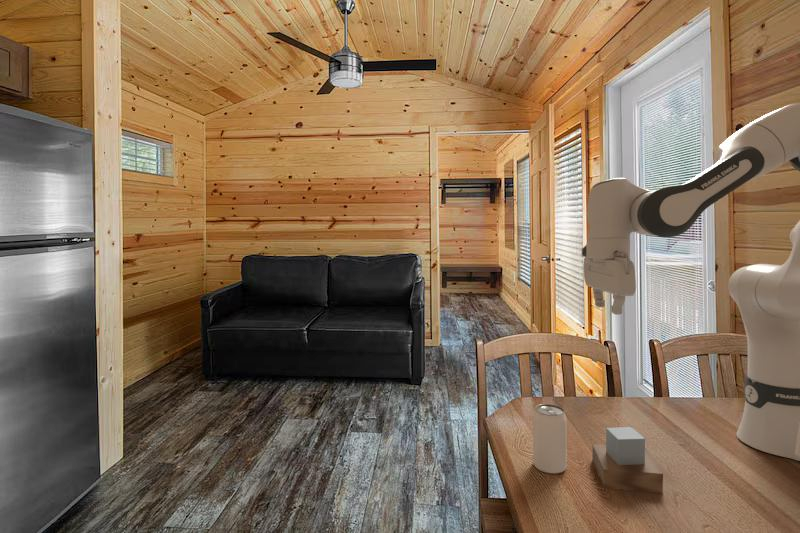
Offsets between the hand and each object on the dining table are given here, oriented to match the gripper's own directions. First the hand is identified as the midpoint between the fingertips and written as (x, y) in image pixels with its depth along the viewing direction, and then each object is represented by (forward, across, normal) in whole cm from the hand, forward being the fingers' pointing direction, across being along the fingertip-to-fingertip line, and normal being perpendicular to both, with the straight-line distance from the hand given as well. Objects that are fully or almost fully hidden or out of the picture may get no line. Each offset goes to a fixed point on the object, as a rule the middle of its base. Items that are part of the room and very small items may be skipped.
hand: (607, 310), depth 104 cm
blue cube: (+26, -19, +4) cm, 32 cm away
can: (+29, -15, +18) cm, 38 cm away
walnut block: (+30, -19, +4) cm, 35 cm away
